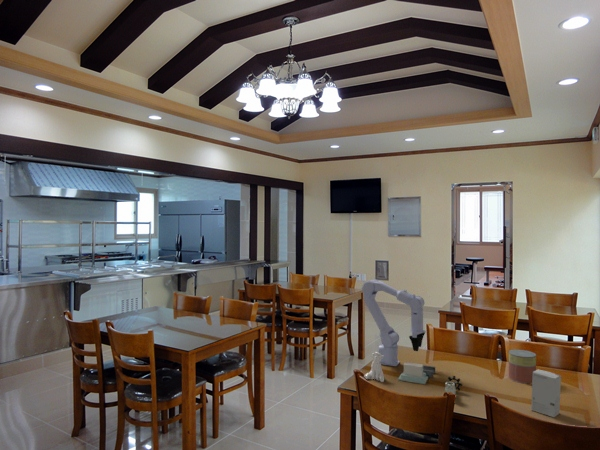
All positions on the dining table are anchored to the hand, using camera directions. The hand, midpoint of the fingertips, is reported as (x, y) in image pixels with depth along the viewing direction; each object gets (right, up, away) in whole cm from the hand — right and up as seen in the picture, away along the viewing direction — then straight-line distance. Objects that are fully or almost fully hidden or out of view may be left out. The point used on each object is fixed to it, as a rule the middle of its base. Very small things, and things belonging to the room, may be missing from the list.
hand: (417, 348), depth 204 cm
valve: (+5, -10, -32) cm, 34 cm away
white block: (-6, -9, -14) cm, 18 cm away
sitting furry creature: (-23, -10, -12) cm, 28 cm away
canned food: (+44, -10, -15) cm, 48 cm away
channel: (+3, -10, -8) cm, 13 cm away
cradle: (-6, -10, -14) cm, 18 cm away
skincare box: (+35, -10, -48) cm, 60 cm away
